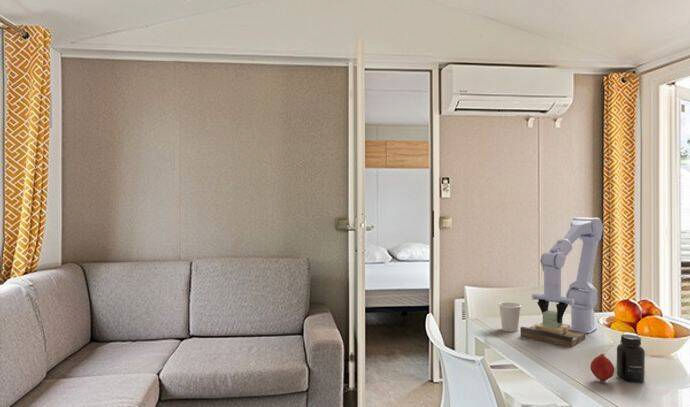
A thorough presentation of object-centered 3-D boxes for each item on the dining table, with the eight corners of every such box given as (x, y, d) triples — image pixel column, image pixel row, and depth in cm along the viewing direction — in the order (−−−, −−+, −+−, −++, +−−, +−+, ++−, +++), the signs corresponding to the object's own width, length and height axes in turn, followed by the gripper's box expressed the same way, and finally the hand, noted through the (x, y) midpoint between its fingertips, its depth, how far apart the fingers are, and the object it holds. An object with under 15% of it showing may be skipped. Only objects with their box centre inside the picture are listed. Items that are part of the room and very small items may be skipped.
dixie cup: (498, 331, 178) (497, 305, 178) (499, 326, 186) (499, 301, 186) (521, 333, 175) (521, 307, 175) (521, 328, 183) (521, 302, 183)
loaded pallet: (545, 324, 176) (545, 307, 176) (570, 329, 170) (569, 311, 170) (535, 329, 170) (535, 312, 170) (560, 334, 163) (560, 316, 163)
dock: (536, 329, 181) (536, 320, 181) (585, 338, 168) (585, 329, 168) (520, 336, 171) (520, 327, 171) (571, 347, 159) (571, 337, 159)
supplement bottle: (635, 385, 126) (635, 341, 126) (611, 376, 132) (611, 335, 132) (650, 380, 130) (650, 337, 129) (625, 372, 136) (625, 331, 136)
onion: (586, 378, 132) (585, 350, 132) (605, 377, 132) (605, 349, 132) (599, 386, 126) (598, 356, 126) (618, 385, 126) (618, 356, 126)
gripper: (528, 283, 172) (528, 319, 172) (569, 288, 162) (569, 327, 162) (536, 281, 177) (536, 316, 177) (576, 286, 167) (576, 323, 167)
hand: (552, 321), depth 170 cm, fingers closed on loaded pallet, 4 cm apart
